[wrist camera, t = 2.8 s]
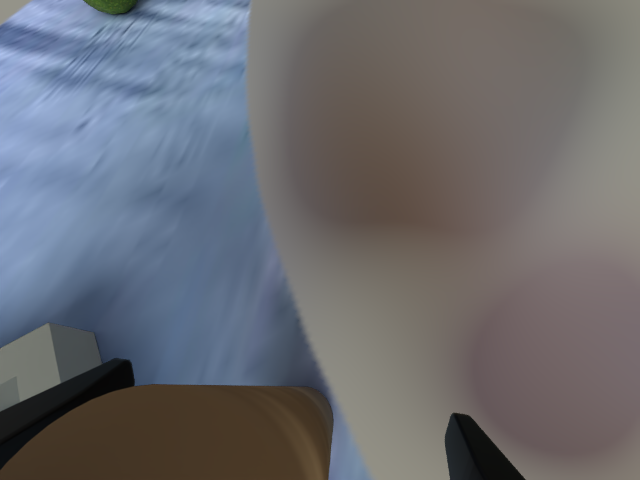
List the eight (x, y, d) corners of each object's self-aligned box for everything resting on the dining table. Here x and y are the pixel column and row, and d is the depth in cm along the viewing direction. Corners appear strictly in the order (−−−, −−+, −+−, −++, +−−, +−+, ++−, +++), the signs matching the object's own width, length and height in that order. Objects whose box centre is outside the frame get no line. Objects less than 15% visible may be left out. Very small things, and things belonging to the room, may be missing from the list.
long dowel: (345, 432, 14) (403, 732, 2) (291, 472, 14) (-141, 1283, 1) (312, 374, 16) (216, 322, 3) (261, 409, 15) (-112, 519, 3)
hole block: (133, 482, 14) (84, 505, 11) (-55, 608, 12) (-162, 669, 10) (93, 332, 17) (48, 322, 14) (-60, 417, 16) (-142, 424, 13)
